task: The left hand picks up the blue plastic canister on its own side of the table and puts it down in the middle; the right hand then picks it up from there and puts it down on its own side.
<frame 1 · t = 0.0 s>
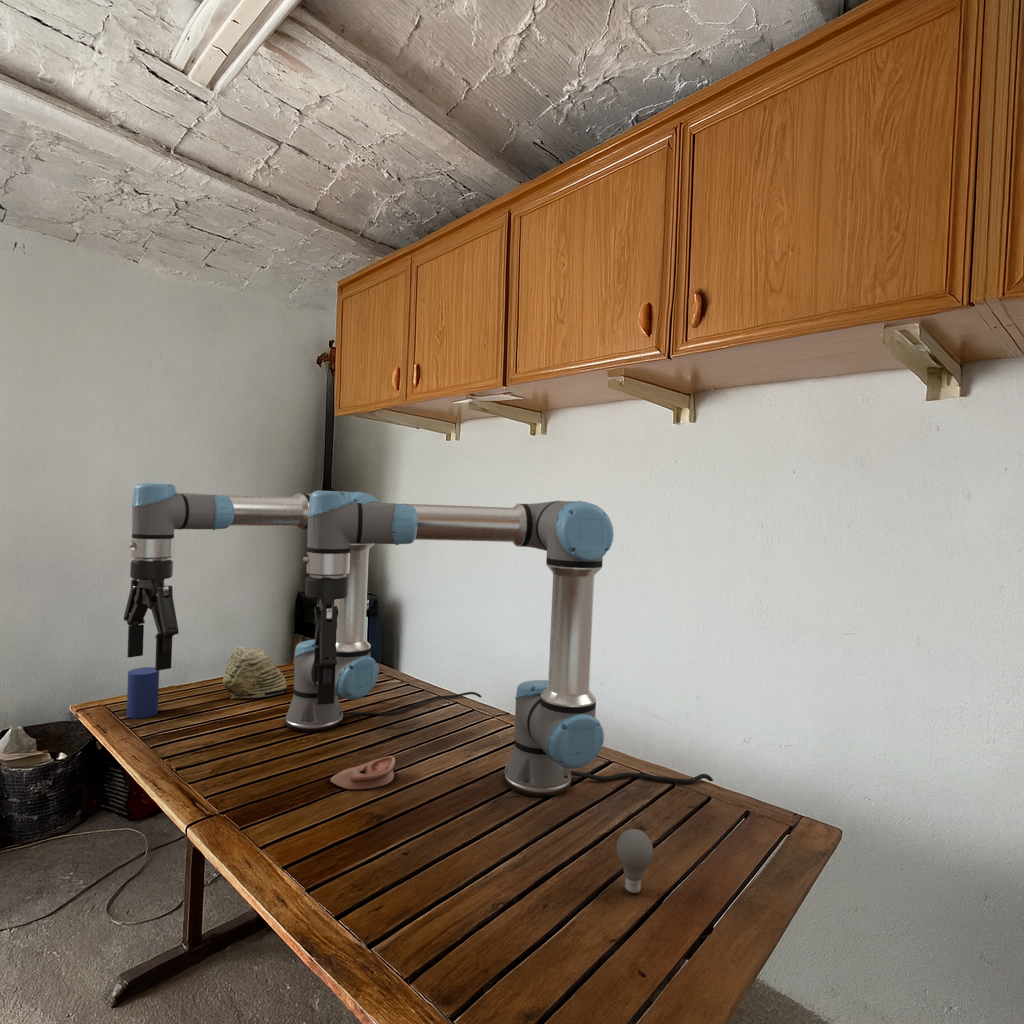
left hand: (148, 662, 129), 28 cm above the table, tool pointing down, fingers open, 13 cm apart
right hand: (323, 691, 115), 28 cm above the table, tool pointing down, fingers open, 13 cm apart
anatomical model: (363, 779, 143), on the table
canister: (142, 713, 177), on the table
fossil: (254, 694, 198), on the table
light bulb: (632, 891, 106), on the table
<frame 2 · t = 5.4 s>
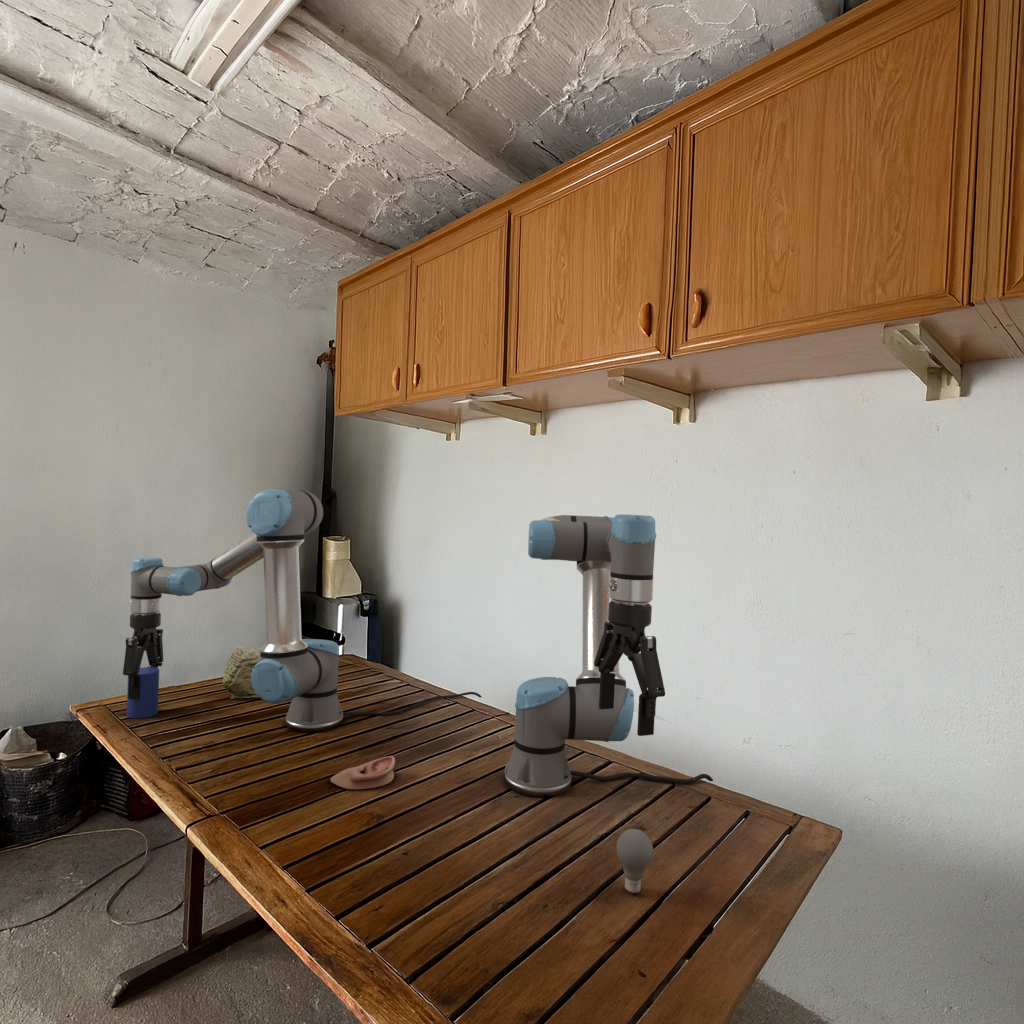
left hand: (143, 693, 177), 6 cm above the table, tool pointing down, fingers closed on canister, 8 cm apart
right hand: (624, 721, 112), 26 cm above the table, tool pointing down, fingers open, 13 cm apart
canister: (142, 713, 177), on the table, touching left hand
everything else where it was.
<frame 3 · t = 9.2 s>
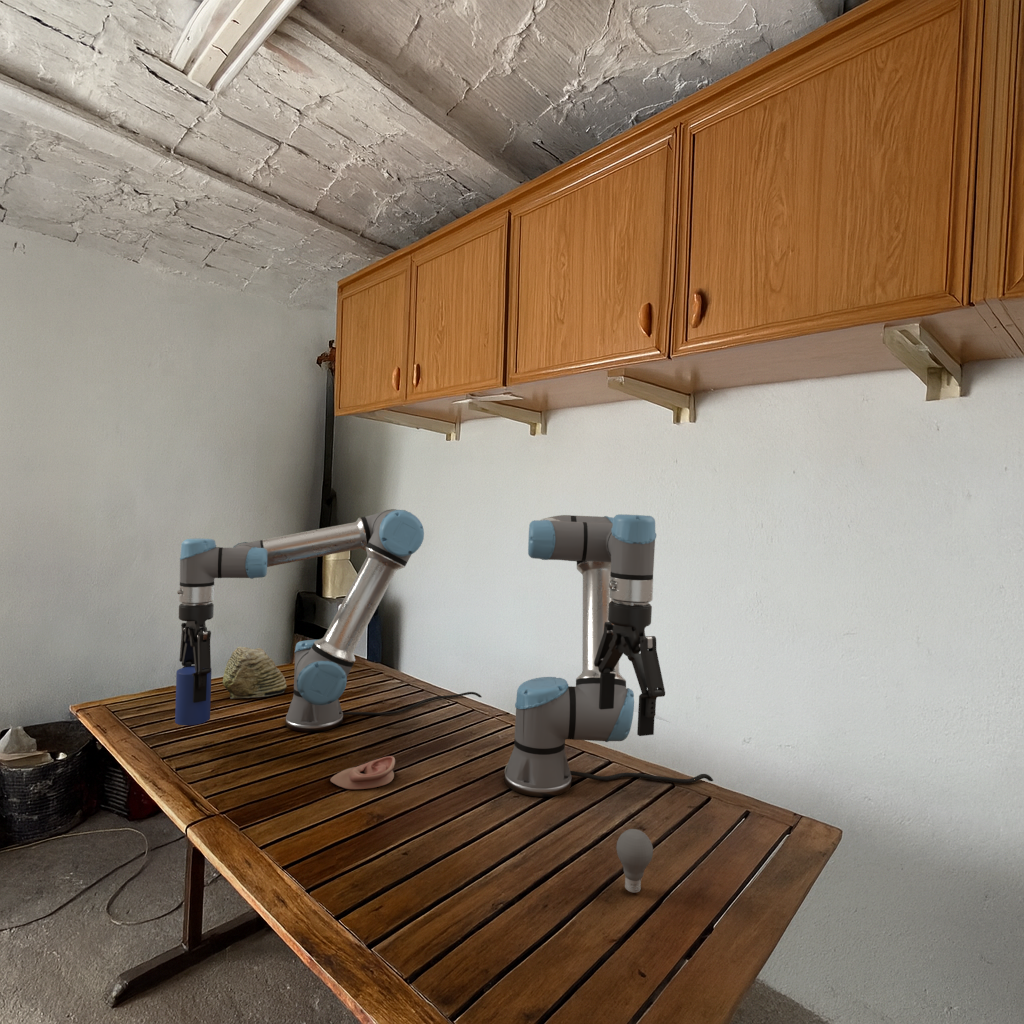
left hand: (193, 696, 153), 14 cm above the table, tool pointing down, fingers closed on canister, 8 cm apart
right hand: (624, 721, 112), 26 cm above the table, tool pointing down, fingers open, 13 cm apart
canister: (192, 719, 153), point 8 cm above the table, touching left hand
everything else where it was.
when the left hand's fingers open (7 cm above the table, at t = 13.3 s): canister drops 1 cm, on the table.
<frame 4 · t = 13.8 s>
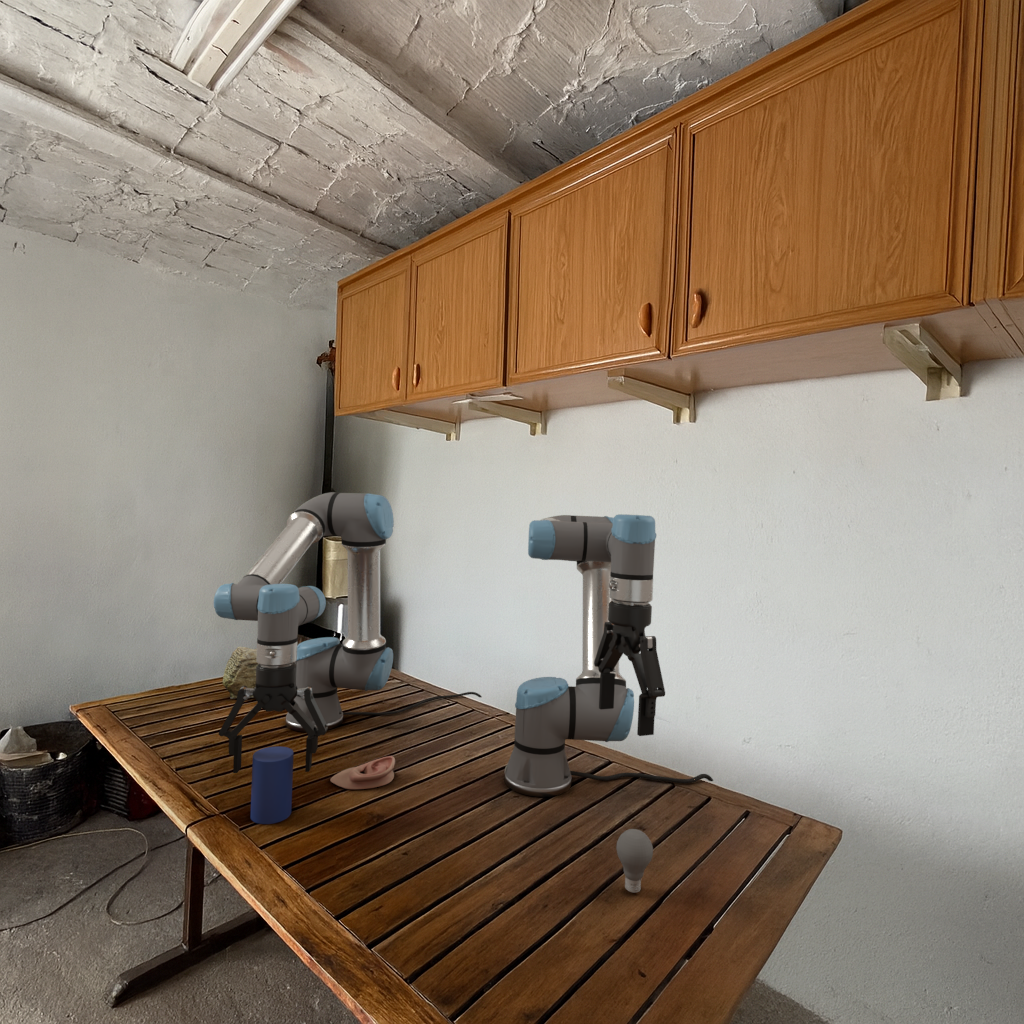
left hand: (273, 769, 126), 9 cm above the table, tool pointing down, fingers open, 13 cm apart
right hand: (624, 721, 112), 26 cm above the table, tool pointing down, fingers open, 13 cm apart
canister: (271, 814, 126), on the table
everything else where it was.
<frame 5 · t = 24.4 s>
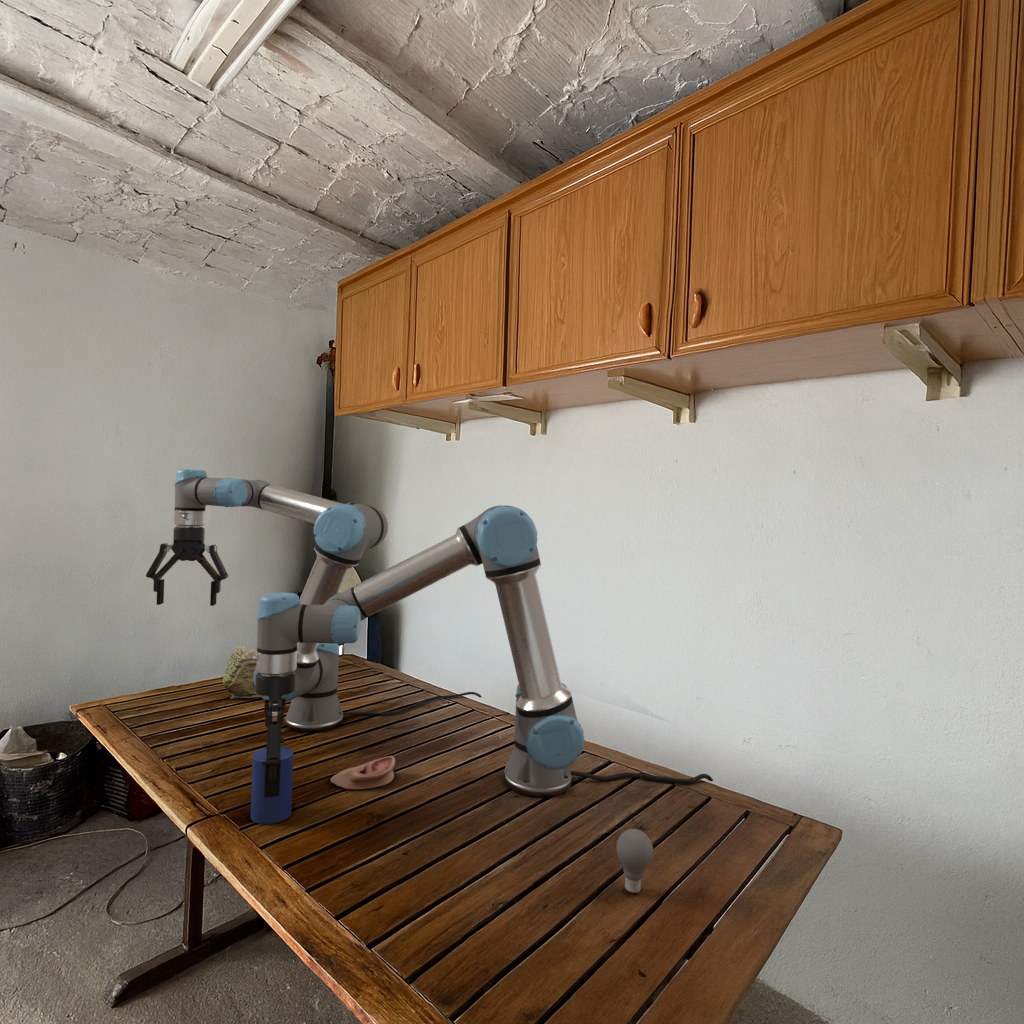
left hand: (186, 604, 172), 32 cm above the table, tool pointing down, fingers open, 13 cm apart
right hand: (272, 786, 125), 6 cm above the table, tool pointing down, fingers closed on canister, 8 cm apart
canister: (271, 814, 126), on the table, touching right hand
everything else where it was.
when the right hand's fingers open (7 cm above the table, at t = 28.9 s): canister drops 1 cm, on the table.
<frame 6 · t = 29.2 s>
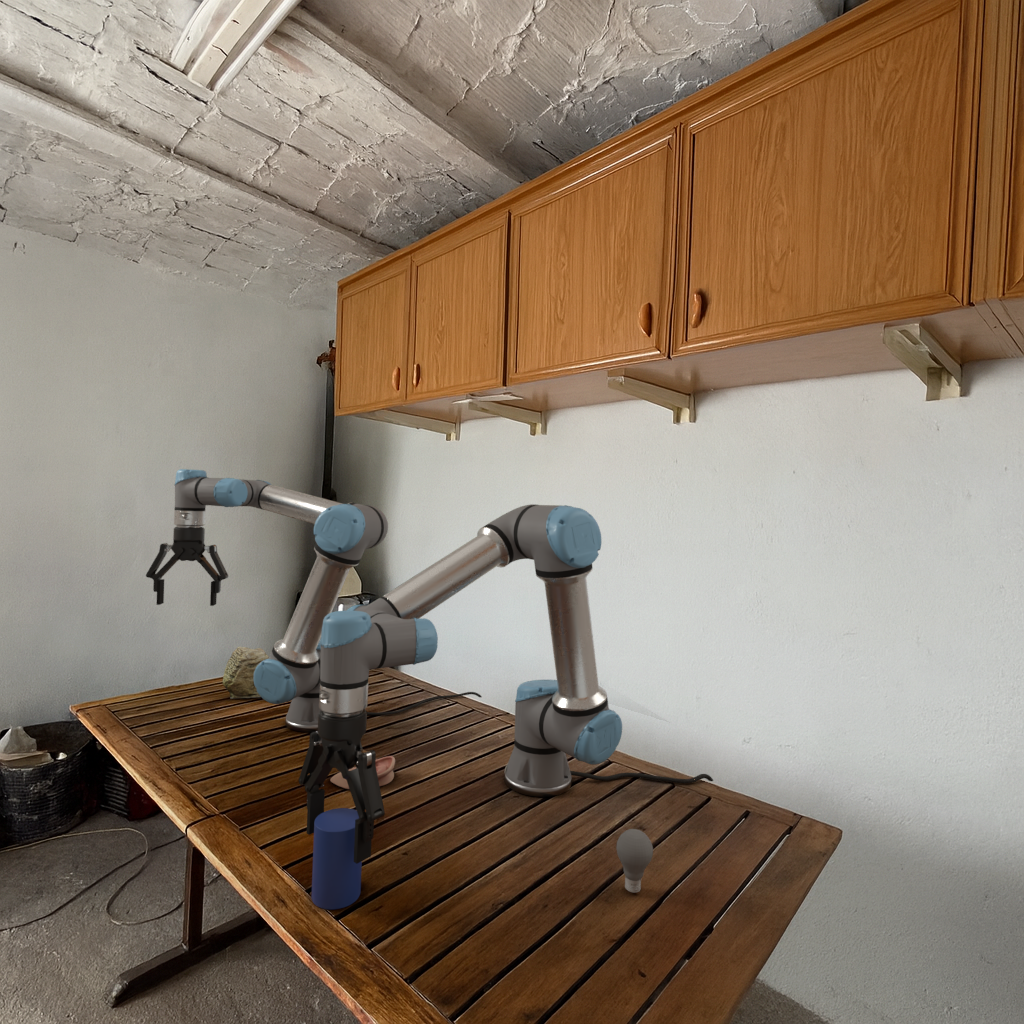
left hand: (186, 604, 172), 32 cm above the table, tool pointing down, fingers open, 13 cm apart
right hand: (337, 844, 101), 8 cm above the table, tool pointing down, fingers open, 11 cm apart
canister: (336, 894, 102), on the table
everything else where it was.
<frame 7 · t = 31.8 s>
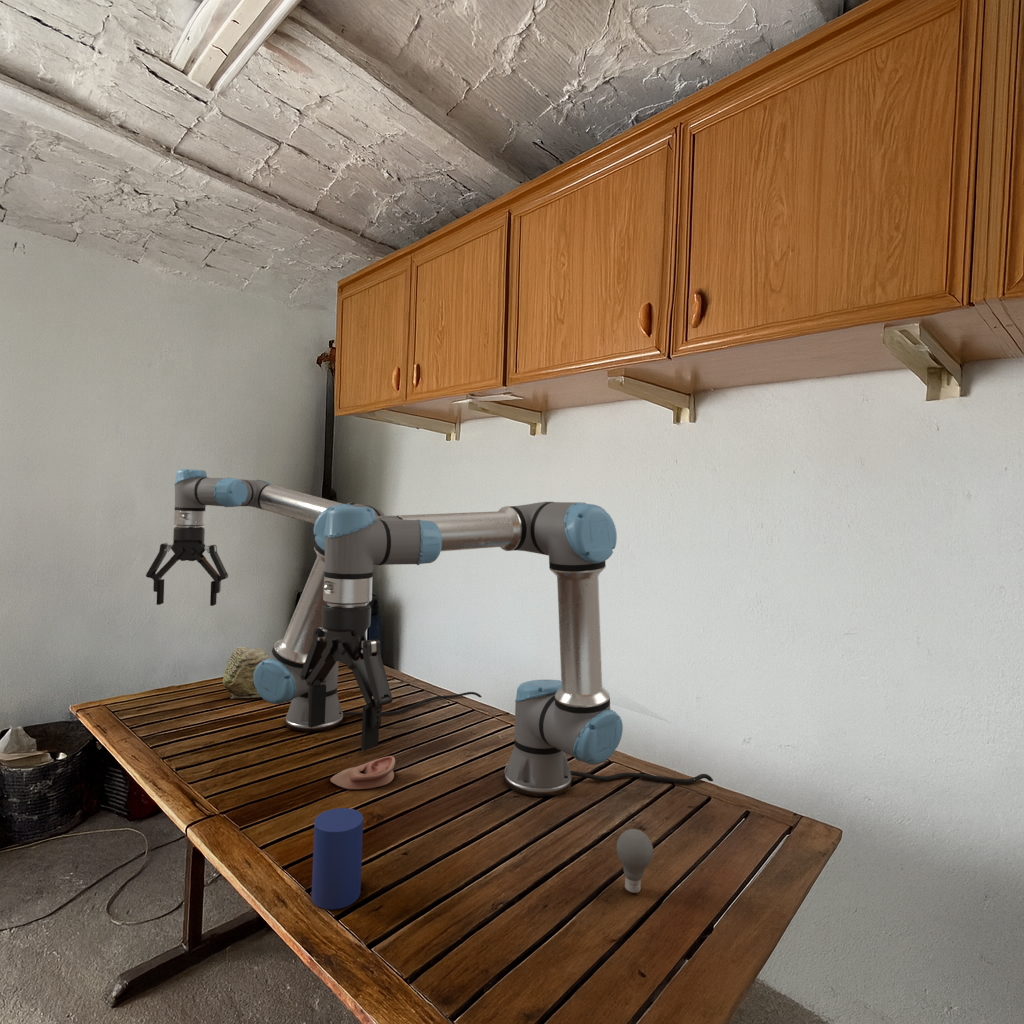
left hand: (186, 604, 172), 32 cm above the table, tool pointing down, fingers open, 13 cm apart
right hand: (342, 736, 101), 26 cm above the table, tool pointing down, fingers open, 13 cm apart
nothing on the table moved.
at the end: canister inside the target area (0.1 cm from its centre), on the table; canister tilted 0°; the two hands never held the canister at the same time; the left hand is holding nothing; the right hand is holding nothing; canister at rest at the end (0.0 cm/s) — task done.
